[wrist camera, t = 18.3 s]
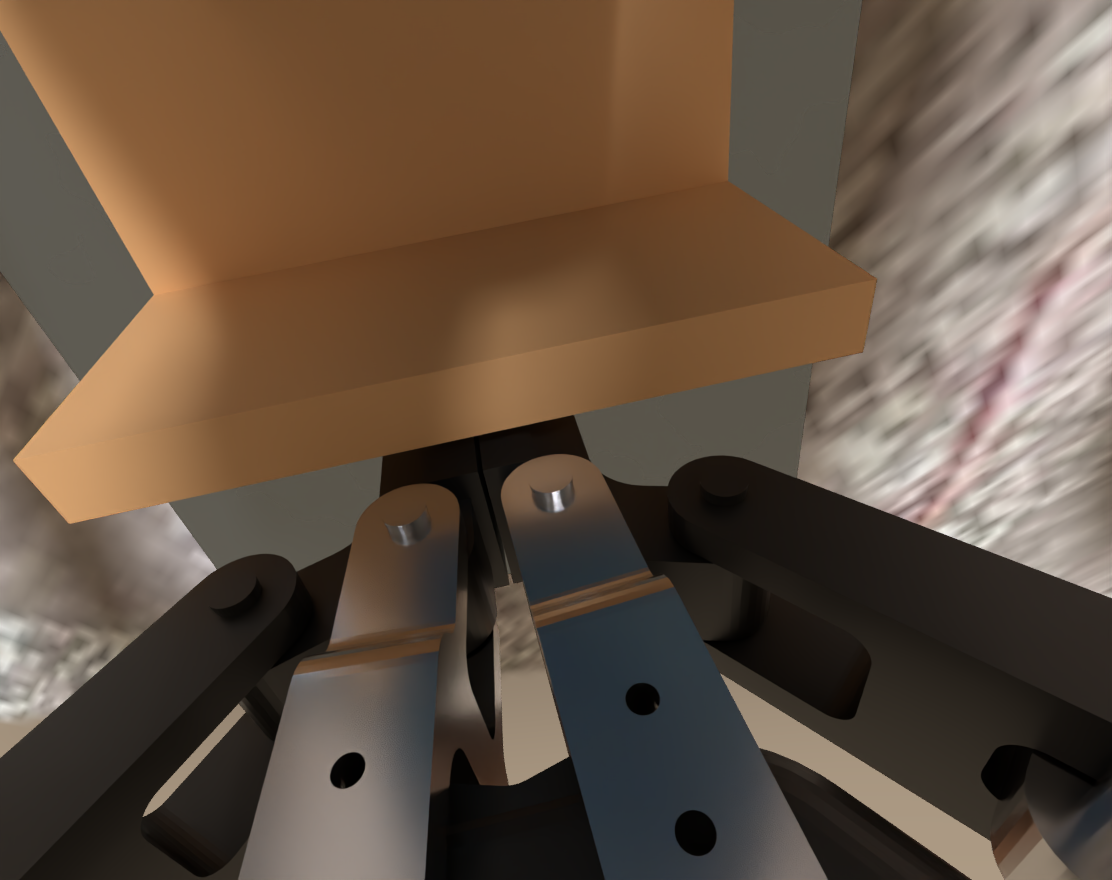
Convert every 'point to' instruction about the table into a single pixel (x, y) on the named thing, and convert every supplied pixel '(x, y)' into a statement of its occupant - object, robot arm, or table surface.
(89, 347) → the press frame
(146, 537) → the table surface
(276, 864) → the robot arm
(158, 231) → the press bed carriage
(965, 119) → the table surface
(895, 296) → the table surface
